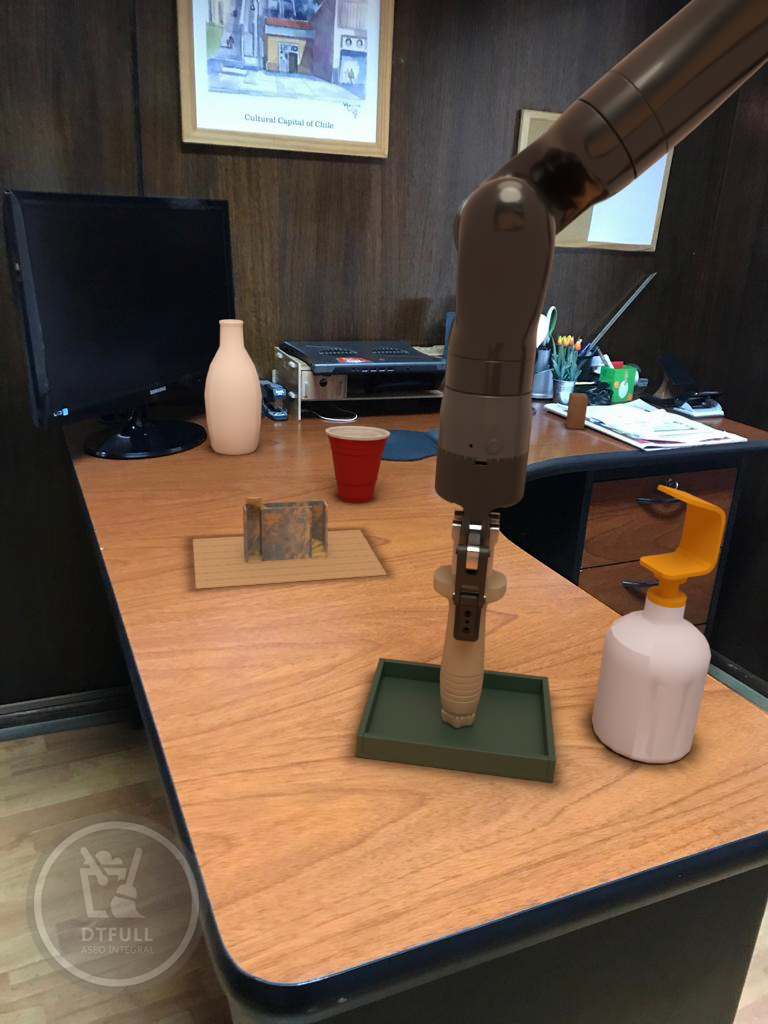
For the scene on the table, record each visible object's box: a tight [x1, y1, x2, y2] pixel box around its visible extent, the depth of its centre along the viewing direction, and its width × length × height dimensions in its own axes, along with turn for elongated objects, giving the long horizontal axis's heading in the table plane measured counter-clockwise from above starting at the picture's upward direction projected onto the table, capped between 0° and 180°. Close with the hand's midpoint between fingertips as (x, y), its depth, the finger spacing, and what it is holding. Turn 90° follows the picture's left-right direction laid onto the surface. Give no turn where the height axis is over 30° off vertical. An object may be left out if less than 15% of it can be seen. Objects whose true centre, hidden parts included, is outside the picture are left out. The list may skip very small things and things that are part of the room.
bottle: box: [204, 319, 263, 456], centre depth 152 cm, size 11×11×25 cm
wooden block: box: [565, 392, 589, 430], centre depth 185 cm, size 4×4×8 cm
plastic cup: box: [325, 425, 391, 504], centre depth 131 cm, size 11×11×12 cm
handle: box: [432, 564, 508, 728], centre depth 71 cm, size 5×6×15 cm
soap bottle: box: [591, 484, 727, 764], centre depth 69 cm, size 9×9×25 cm
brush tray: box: [355, 657, 557, 783], centre depth 73 cm, size 17×13×2 cm
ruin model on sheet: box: [192, 495, 388, 590], centre depth 106 cm, size 25×16×10 cm, turn 104°
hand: (467, 623), depth 70 cm, fingers closed on handle, 5 cm apart
